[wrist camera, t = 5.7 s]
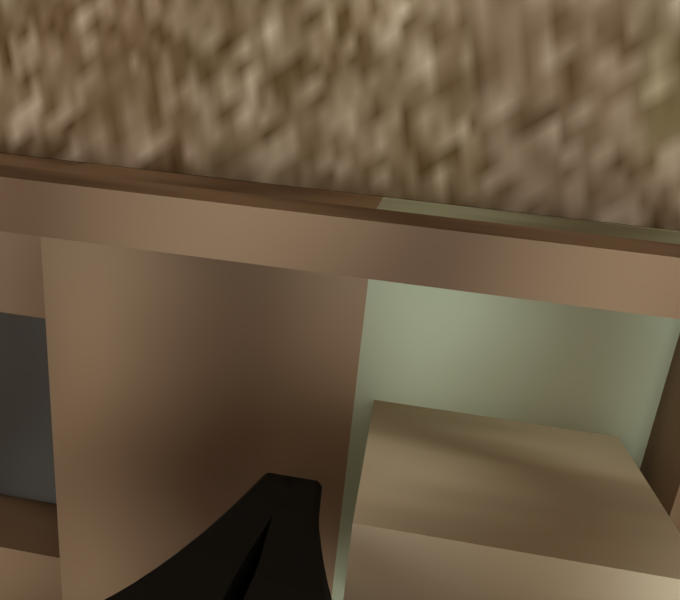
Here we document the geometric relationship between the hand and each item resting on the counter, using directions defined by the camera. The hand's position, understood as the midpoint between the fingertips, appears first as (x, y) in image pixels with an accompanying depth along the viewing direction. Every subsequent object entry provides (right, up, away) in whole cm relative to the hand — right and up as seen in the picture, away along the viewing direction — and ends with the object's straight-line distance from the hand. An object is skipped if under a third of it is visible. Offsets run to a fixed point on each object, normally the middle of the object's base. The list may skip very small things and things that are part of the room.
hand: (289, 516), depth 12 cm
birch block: (+4, 0, +1) cm, 4 cm away
